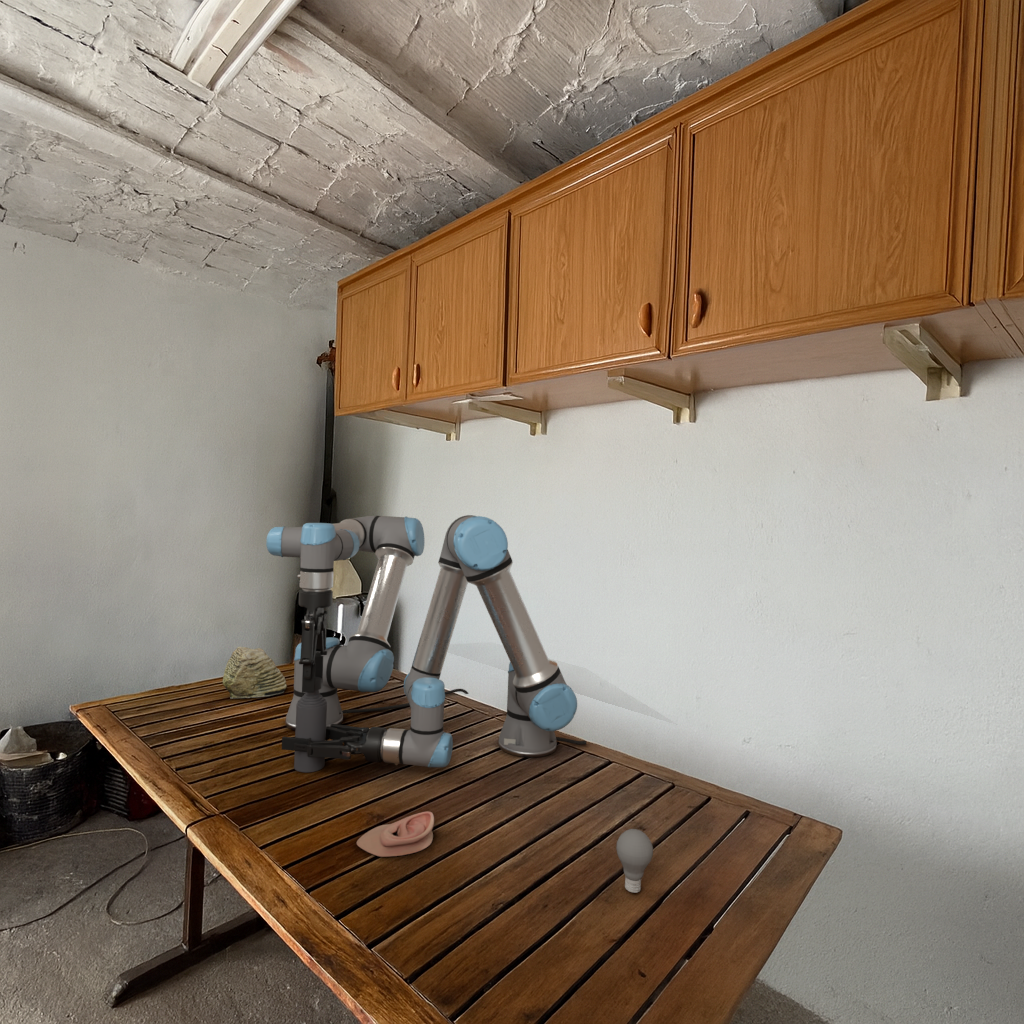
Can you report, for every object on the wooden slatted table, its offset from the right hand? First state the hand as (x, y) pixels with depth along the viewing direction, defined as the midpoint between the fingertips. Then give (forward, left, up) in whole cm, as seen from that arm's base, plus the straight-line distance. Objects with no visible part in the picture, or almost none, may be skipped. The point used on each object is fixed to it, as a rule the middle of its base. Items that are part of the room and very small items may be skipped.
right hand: (290, 737), depth 149 cm
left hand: (-5, +2, +12) cm, 13 cm away
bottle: (-5, +2, -6) cm, 8 cm away
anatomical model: (-19, +40, -6) cm, 45 cm away
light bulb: (-55, +65, -6) cm, 85 cm away
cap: (-5, +2, +14) cm, 15 cm away
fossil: (+11, -56, -6) cm, 57 cm away
